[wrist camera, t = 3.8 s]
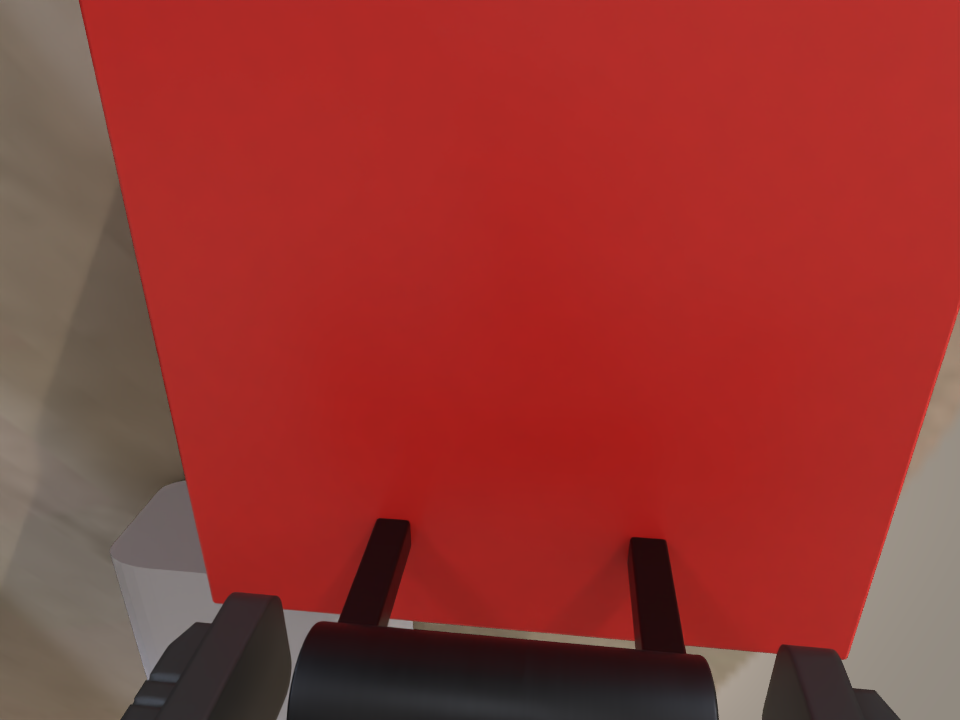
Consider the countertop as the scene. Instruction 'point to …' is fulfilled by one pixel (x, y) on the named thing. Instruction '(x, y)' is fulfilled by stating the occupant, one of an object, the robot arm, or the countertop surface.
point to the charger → (180, 580)
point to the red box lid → (541, 323)
